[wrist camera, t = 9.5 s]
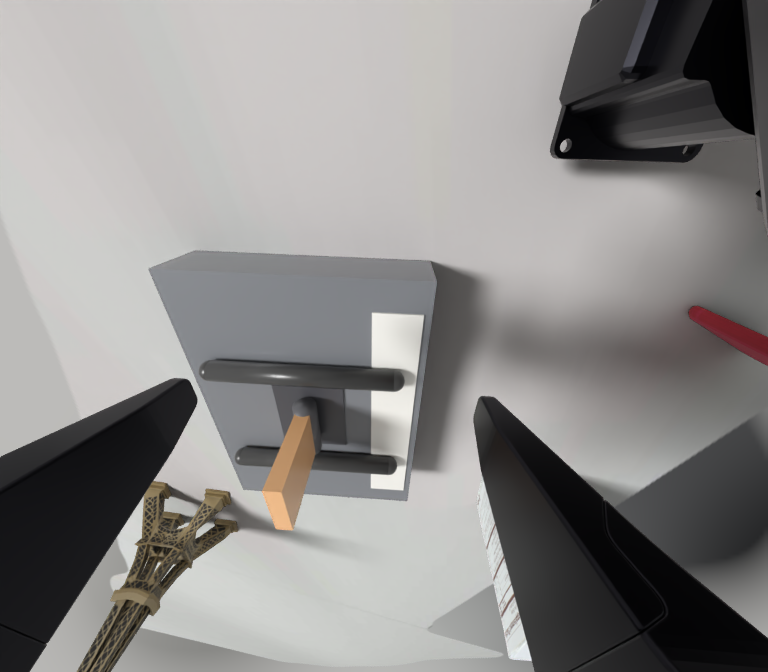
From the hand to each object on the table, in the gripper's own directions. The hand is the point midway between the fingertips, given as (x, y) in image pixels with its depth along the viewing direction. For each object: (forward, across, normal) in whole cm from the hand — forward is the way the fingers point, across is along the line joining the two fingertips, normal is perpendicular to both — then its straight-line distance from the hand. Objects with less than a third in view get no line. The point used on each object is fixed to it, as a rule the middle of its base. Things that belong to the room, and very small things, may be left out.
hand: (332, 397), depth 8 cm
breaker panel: (+12, +4, +10) cm, 16 cm away
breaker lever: (+8, +4, +10) cm, 13 cm away
